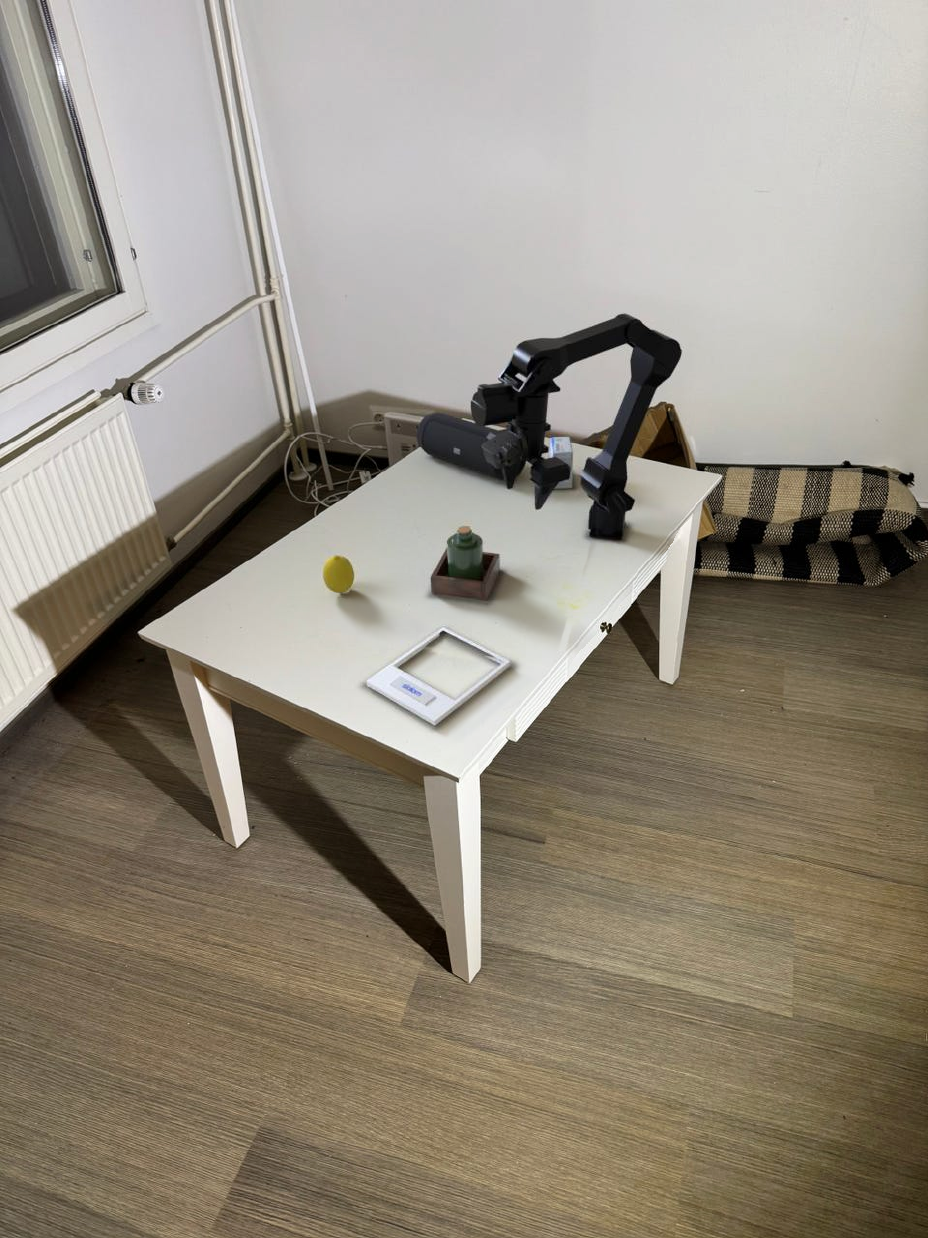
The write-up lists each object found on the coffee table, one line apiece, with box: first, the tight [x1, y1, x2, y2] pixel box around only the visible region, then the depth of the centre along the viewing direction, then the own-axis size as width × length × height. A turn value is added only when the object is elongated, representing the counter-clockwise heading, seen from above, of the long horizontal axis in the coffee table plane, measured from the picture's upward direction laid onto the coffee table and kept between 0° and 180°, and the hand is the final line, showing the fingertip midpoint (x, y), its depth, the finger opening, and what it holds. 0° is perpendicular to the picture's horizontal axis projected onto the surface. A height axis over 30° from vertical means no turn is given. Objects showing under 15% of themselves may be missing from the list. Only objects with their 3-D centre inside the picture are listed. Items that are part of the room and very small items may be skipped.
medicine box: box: [549, 436, 574, 490], centre depth 189 cm, size 8×4×9 cm, turn 179°
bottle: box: [446, 525, 484, 582], centre depth 157 cm, size 6×6×11 cm
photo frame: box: [366, 626, 511, 726], centre depth 139 cm, size 15×1×18 cm
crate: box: [430, 547, 501, 601], centre depth 159 cm, size 10×10×4 cm
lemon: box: [322, 555, 355, 594], centre depth 157 cm, size 6×6×8 cm
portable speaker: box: [416, 412, 527, 481], centre depth 196 cm, size 26×10×10 cm, turn 50°
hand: (523, 498), depth 160 cm, fingers open, 9 cm apart
